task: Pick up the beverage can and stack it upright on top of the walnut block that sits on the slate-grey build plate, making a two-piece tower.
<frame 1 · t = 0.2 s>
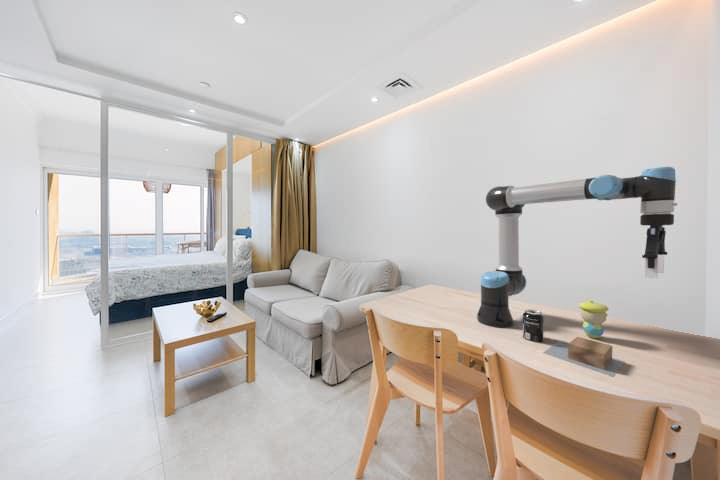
hand: (654, 275, 89), 28 cm above the table, fingers open, 13 cm apart
beverage can: (532, 341, 102), on the table
toy: (593, 338, 103), on the table
walnut block: (589, 359, 85), point 1 cm above the table, touching build plate
build plate: (582, 360, 87), on the table
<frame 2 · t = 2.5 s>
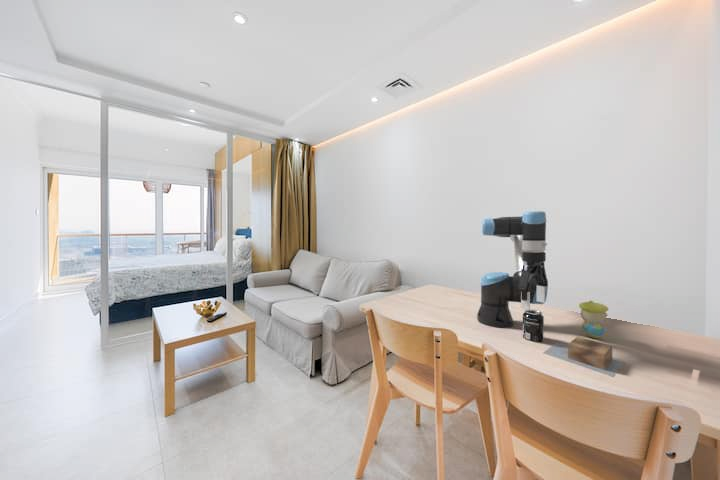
hand: (533, 305, 101), 15 cm above the table, fingers open, 13 cm apart
nothing on the table moved.
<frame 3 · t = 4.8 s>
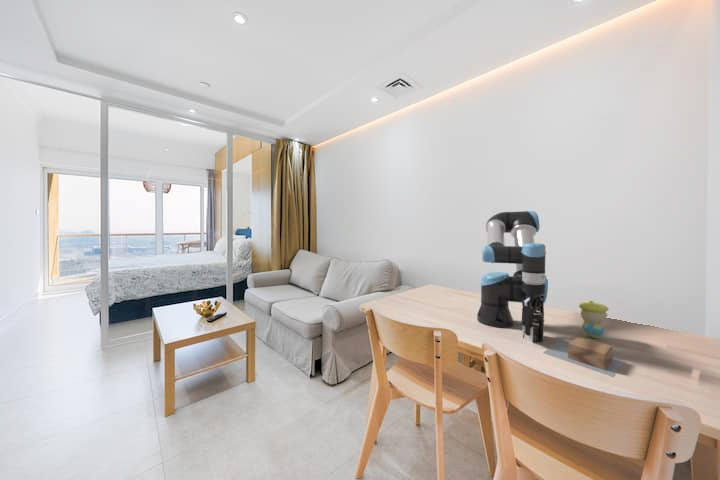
hand: (532, 339, 101), 1 cm above the table, fingers closed on beverage can, 7 cm apart
beverage can: (532, 341, 102), on the table, touching gripper
everything else where it was.
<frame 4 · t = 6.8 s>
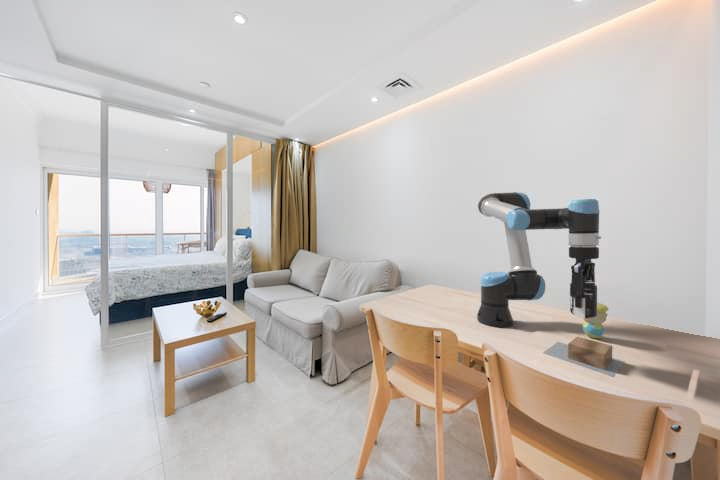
hand: (583, 314, 85), 16 cm above the table, fingers closed on beverage can, 7 cm apart
beverage can: (583, 316, 85), point 15 cm above the table, touching gripper
everything else where it was.
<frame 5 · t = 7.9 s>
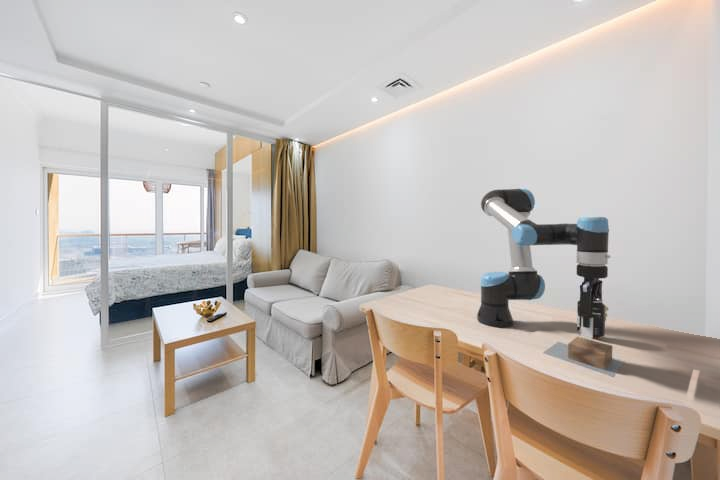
hand: (590, 333, 84), 10 cm above the table, fingers closed on beverage can, 7 cm apart
beverage can: (590, 335, 84), point 9 cm above the table, touching gripper
everything else where it was.
when the fingers open (8 cm above the table, at t = 8.9 s): beverage can drops 2 cm, resting on walnut block.
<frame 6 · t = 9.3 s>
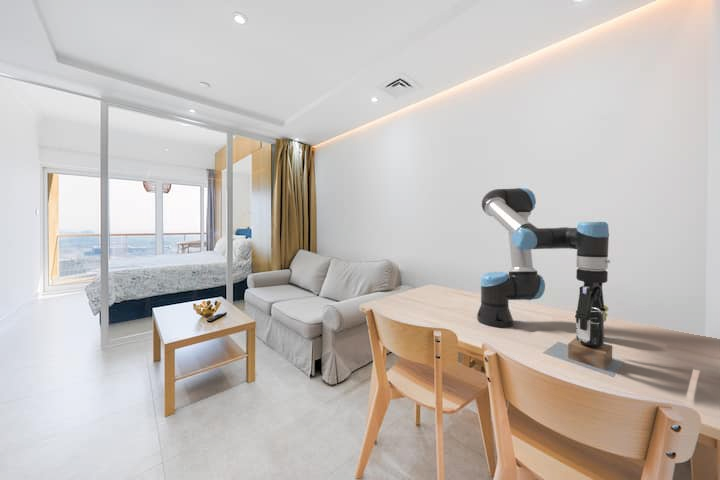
hand: (590, 334, 84), 10 cm above the table, fingers open, 12 cm apart
beverage can: (589, 344, 85), point 6 cm above the table, touching walnut block
walnut block: (589, 359, 85), point 1 cm above the table, touching beverage can, build plate
everything else where it was.
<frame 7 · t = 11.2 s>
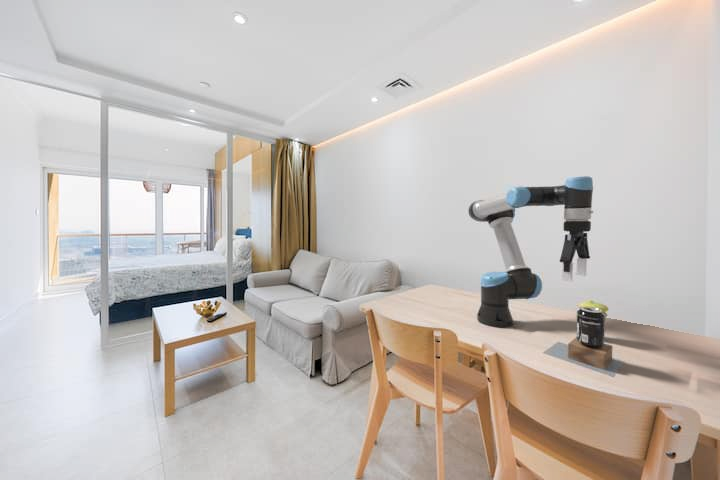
hand: (574, 278, 95), 26 cm above the table, fingers open, 13 cm apart
nothing on the table moved.
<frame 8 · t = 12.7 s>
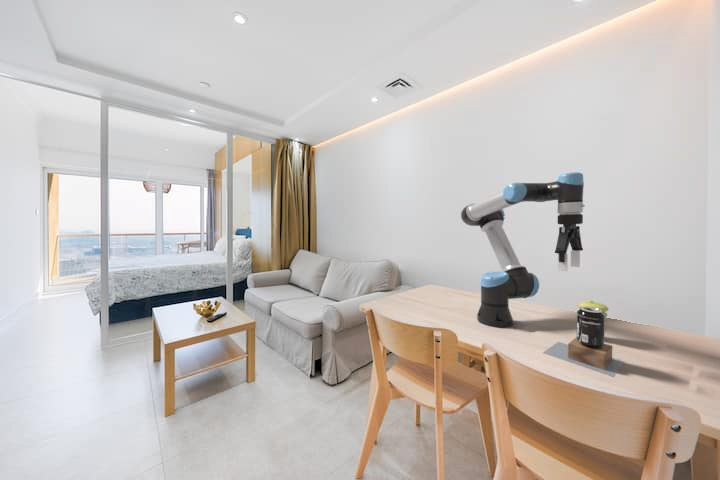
hand: (569, 268, 100), 29 cm above the table, fingers open, 13 cm apart
nothing on the table moved.
at the end: beverage can 0.1 cm from the walnut block (horizontally); beverage can point 6.0 cm above the table; beverage can tilted 0° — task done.
